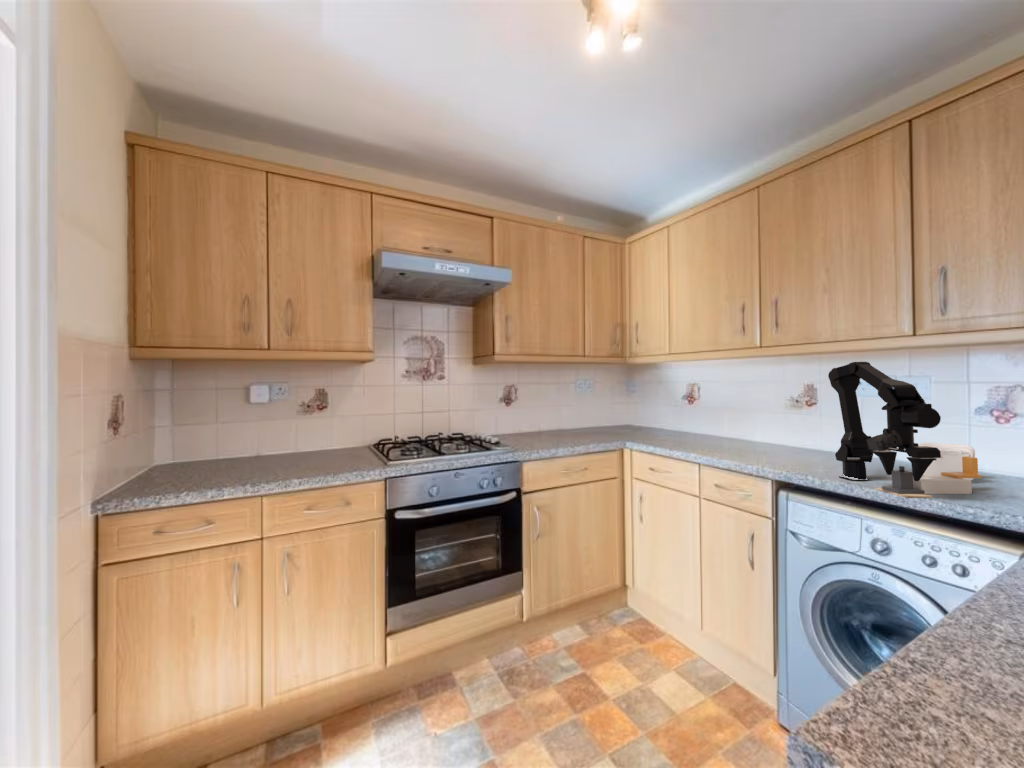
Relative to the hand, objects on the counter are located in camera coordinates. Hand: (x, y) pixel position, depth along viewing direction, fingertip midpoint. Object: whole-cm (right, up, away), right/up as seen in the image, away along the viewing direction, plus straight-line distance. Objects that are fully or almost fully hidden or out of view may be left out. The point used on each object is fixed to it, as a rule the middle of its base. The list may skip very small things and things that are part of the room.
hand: (902, 477), depth 124 cm
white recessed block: (+12, -5, +3) cm, 13 cm away
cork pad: (0, -5, 0) cm, 5 cm away
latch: (+21, 0, +3) cm, 21 cm away
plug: (0, -4, 0) cm, 4 cm away
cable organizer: (+33, -5, +19) cm, 38 cm away
